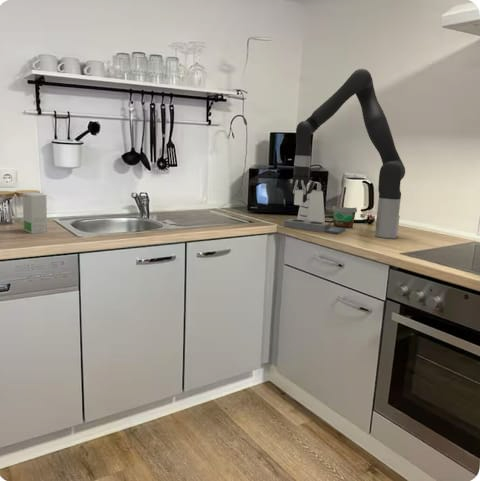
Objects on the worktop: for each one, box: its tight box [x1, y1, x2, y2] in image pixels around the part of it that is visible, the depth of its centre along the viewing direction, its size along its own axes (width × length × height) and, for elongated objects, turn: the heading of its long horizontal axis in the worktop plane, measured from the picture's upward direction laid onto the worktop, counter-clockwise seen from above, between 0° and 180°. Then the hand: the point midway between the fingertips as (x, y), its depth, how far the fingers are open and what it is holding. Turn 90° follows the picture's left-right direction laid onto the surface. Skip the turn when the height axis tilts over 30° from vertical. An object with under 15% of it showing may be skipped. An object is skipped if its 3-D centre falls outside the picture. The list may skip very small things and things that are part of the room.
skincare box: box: [22, 191, 48, 235], centre depth 183 cm, size 8×7×16 cm
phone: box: [324, 226, 347, 235], centre depth 209 cm, size 6×12×1 cm, turn 152°
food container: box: [331, 205, 358, 229], centre depth 221 cm, size 12×6×10 cm, turn 62°
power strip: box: [283, 218, 331, 233], centre depth 215 cm, size 20×9×3 cm, turn 62°
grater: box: [296, 181, 326, 222], centre depth 236 cm, size 10×10×20 cm
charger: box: [293, 188, 305, 206], centre depth 215 cm, size 4×4×7 cm
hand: (299, 201), depth 215 cm, fingers closed on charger, 4 cm apart
